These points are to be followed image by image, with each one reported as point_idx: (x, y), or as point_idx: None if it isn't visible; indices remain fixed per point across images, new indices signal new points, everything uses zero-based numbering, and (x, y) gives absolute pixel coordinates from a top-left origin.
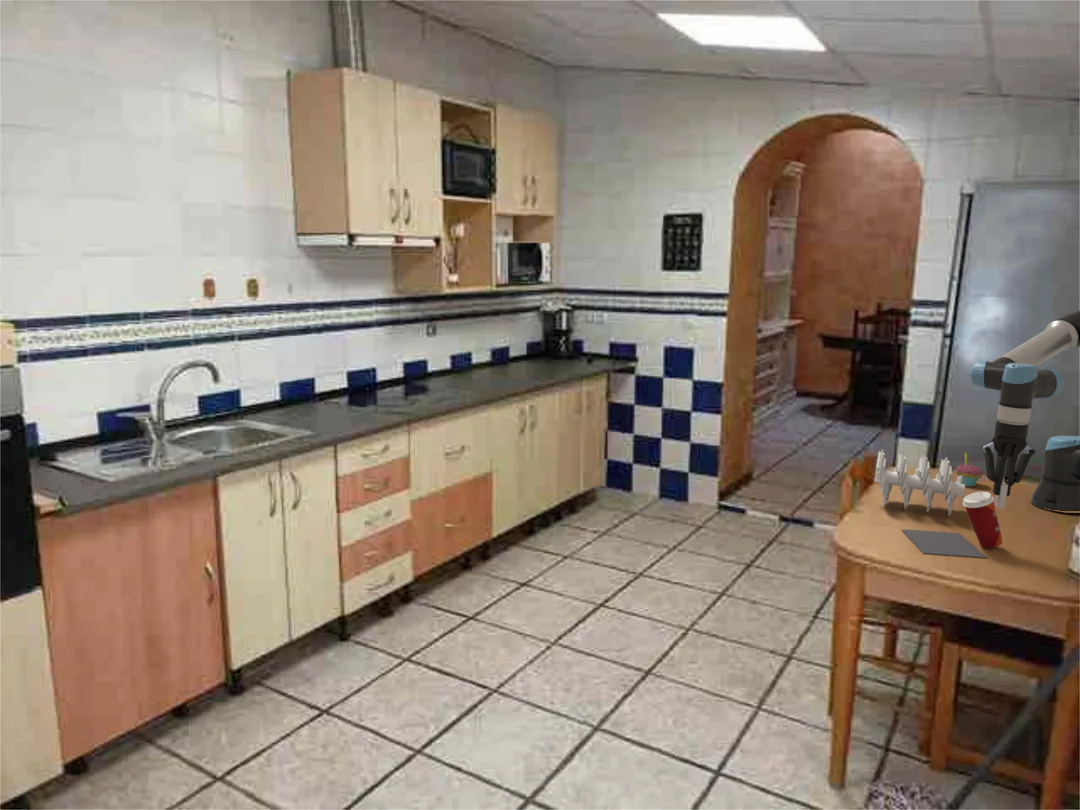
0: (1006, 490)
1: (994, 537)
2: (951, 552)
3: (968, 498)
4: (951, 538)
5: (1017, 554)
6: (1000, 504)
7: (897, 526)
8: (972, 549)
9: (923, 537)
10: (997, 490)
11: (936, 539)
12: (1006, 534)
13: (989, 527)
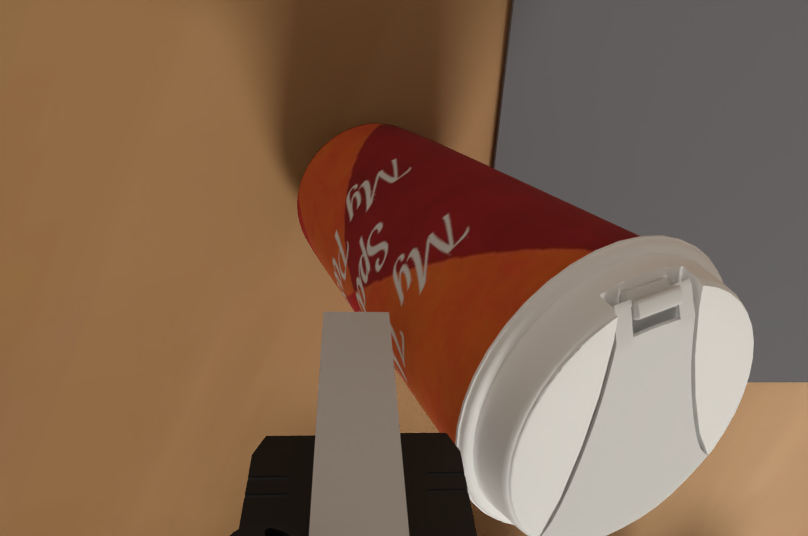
0: (325, 472)
1: (397, 142)
2: (748, 3)
3: (693, 430)
4: None
5: (226, 65)
6: (376, 337)
7: (783, 432)
8: (544, 95)
9: (759, 271)
10: (440, 485)
11: None
12: (154, 423)
13: (466, 166)
